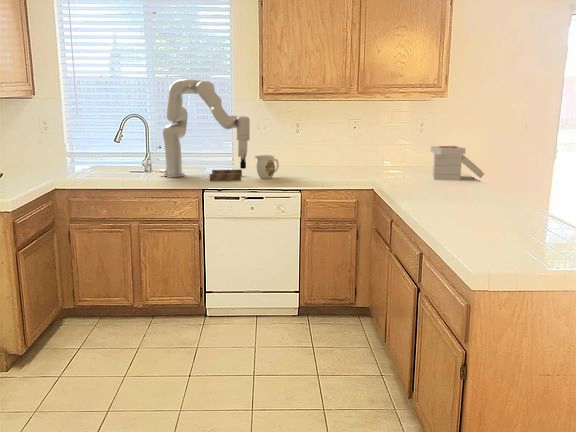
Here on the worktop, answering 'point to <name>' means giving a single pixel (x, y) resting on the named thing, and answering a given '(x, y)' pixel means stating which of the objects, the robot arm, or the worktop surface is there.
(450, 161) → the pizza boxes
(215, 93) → the robot arm
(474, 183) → the worktop surface
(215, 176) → the wooden planks
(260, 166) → the pitcher
